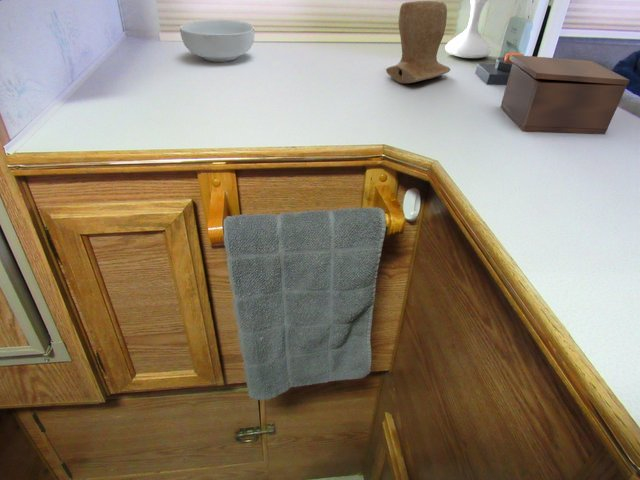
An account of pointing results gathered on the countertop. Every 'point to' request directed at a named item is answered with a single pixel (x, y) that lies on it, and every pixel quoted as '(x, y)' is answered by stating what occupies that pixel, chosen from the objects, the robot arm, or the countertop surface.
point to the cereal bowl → (217, 39)
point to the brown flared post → (420, 41)
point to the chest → (559, 103)
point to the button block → (494, 72)
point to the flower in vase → (470, 37)
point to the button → (509, 56)
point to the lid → (567, 70)
